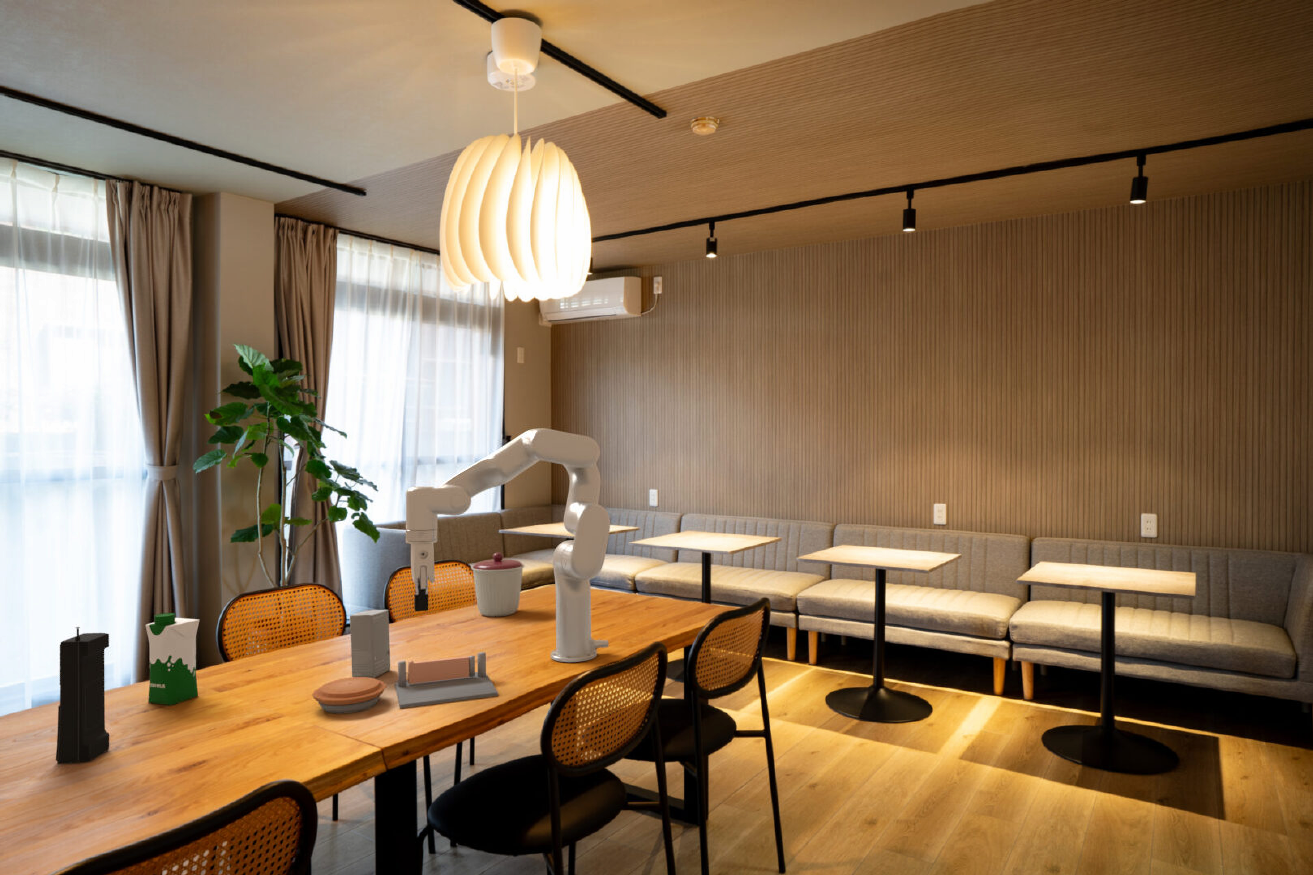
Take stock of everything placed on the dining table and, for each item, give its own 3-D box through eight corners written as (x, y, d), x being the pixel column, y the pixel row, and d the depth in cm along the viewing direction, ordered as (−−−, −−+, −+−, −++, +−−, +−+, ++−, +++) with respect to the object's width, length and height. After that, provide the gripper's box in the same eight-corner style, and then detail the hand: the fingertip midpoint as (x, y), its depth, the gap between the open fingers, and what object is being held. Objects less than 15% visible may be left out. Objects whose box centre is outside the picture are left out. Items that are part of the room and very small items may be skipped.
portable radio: (80, 748, 152) (80, 619, 152) (113, 746, 152) (112, 618, 153) (53, 764, 144) (52, 628, 144) (87, 763, 144) (86, 627, 145)
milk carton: (141, 703, 178) (140, 615, 179) (177, 691, 187) (176, 607, 187) (170, 707, 176) (169, 618, 176) (205, 694, 184) (204, 609, 184)
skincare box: (374, 679, 195) (373, 615, 195) (348, 677, 196) (347, 614, 197) (392, 669, 203) (391, 608, 203) (367, 668, 205) (366, 607, 205)
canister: (463, 618, 262) (462, 555, 262) (483, 607, 280) (483, 548, 280) (514, 620, 259) (513, 556, 259) (532, 608, 277) (531, 549, 277)
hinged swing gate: (484, 674, 198) (484, 648, 198) (497, 695, 181) (497, 667, 181) (395, 684, 190) (394, 658, 190) (399, 708, 173) (399, 678, 173)
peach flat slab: (474, 674, 193) (474, 653, 194) (475, 676, 192) (475, 655, 192) (408, 682, 188) (407, 660, 188) (408, 684, 186) (408, 662, 186)
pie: (315, 721, 165) (315, 698, 165) (310, 701, 179) (310, 679, 179) (391, 709, 172) (391, 687, 172) (381, 690, 186) (380, 669, 186)
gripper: (440, 538, 189) (440, 615, 188) (434, 532, 203) (433, 603, 202) (408, 540, 186) (407, 617, 186) (403, 533, 200) (403, 605, 200)
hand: (421, 610), depth 194 cm, fingers closed
